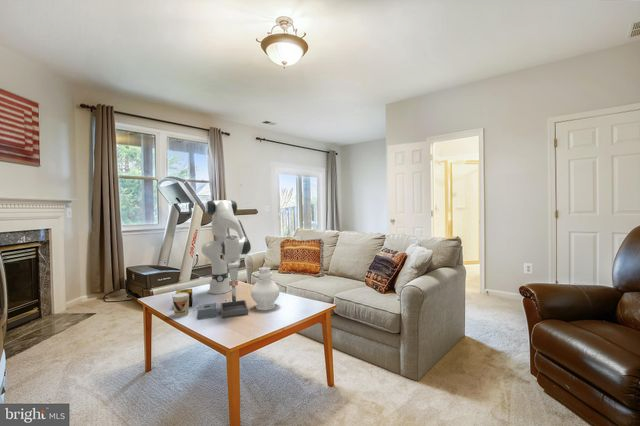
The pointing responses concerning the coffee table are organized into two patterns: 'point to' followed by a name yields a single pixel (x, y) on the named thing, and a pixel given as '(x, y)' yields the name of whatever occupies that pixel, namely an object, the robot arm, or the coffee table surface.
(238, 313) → the tray
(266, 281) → the decorative vase
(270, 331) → the coffee table surface
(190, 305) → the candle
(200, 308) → the hitch block
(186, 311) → the coffee cup
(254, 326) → the coffee table surface
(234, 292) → the pin
